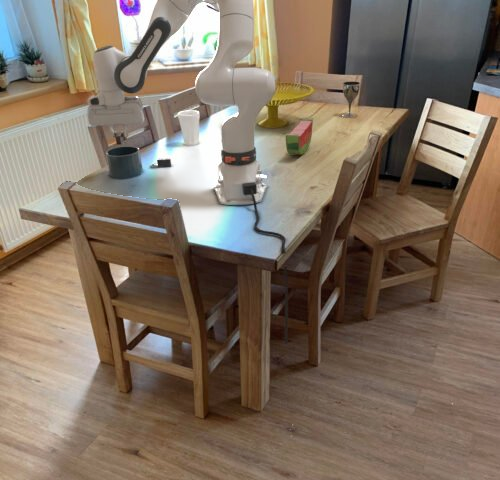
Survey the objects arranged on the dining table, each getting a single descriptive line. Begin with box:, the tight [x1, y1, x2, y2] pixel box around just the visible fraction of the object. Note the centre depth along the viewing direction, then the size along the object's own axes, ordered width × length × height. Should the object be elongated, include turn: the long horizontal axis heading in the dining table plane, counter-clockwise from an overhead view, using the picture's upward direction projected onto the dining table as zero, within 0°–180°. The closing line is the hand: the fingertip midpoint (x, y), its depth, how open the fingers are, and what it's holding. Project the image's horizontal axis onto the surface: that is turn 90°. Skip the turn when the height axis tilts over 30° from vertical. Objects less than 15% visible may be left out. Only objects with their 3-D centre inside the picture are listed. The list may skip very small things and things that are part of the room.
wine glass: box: [341, 81, 361, 118], centre depth 256 cm, size 8×8×15 cm
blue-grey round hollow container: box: [105, 145, 144, 180], centre depth 201 cm, size 13×13×8 cm
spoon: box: [114, 131, 128, 146], centre depth 195 cm, size 8×3×3 cm, turn 0°
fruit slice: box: [285, 117, 314, 156], centre depth 214 cm, size 26×6×10 cm, turn 162°
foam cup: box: [177, 109, 201, 147], centre depth 228 cm, size 10×9×13 cm
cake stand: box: [258, 81, 315, 129], centre depth 249 cm, size 40×40×15 cm
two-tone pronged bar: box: [150, 157, 172, 169], centre depth 207 cm, size 8×3×3 cm, turn 91°
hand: (119, 136), depth 194 cm, fingers closed on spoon, 2 cm apart
